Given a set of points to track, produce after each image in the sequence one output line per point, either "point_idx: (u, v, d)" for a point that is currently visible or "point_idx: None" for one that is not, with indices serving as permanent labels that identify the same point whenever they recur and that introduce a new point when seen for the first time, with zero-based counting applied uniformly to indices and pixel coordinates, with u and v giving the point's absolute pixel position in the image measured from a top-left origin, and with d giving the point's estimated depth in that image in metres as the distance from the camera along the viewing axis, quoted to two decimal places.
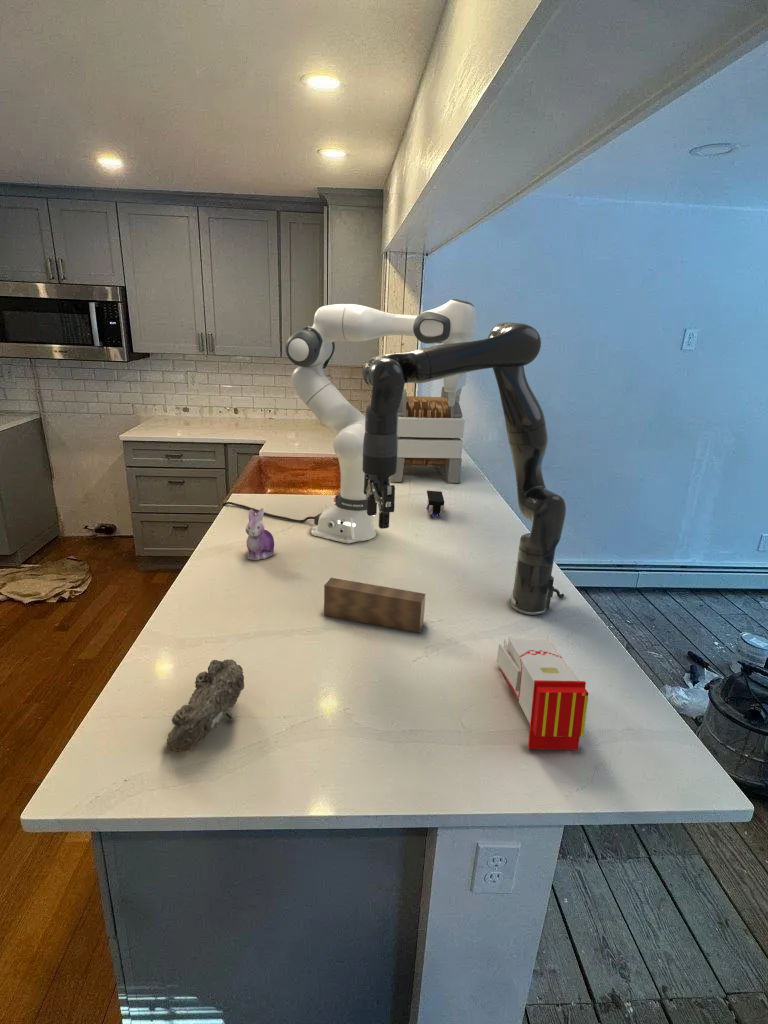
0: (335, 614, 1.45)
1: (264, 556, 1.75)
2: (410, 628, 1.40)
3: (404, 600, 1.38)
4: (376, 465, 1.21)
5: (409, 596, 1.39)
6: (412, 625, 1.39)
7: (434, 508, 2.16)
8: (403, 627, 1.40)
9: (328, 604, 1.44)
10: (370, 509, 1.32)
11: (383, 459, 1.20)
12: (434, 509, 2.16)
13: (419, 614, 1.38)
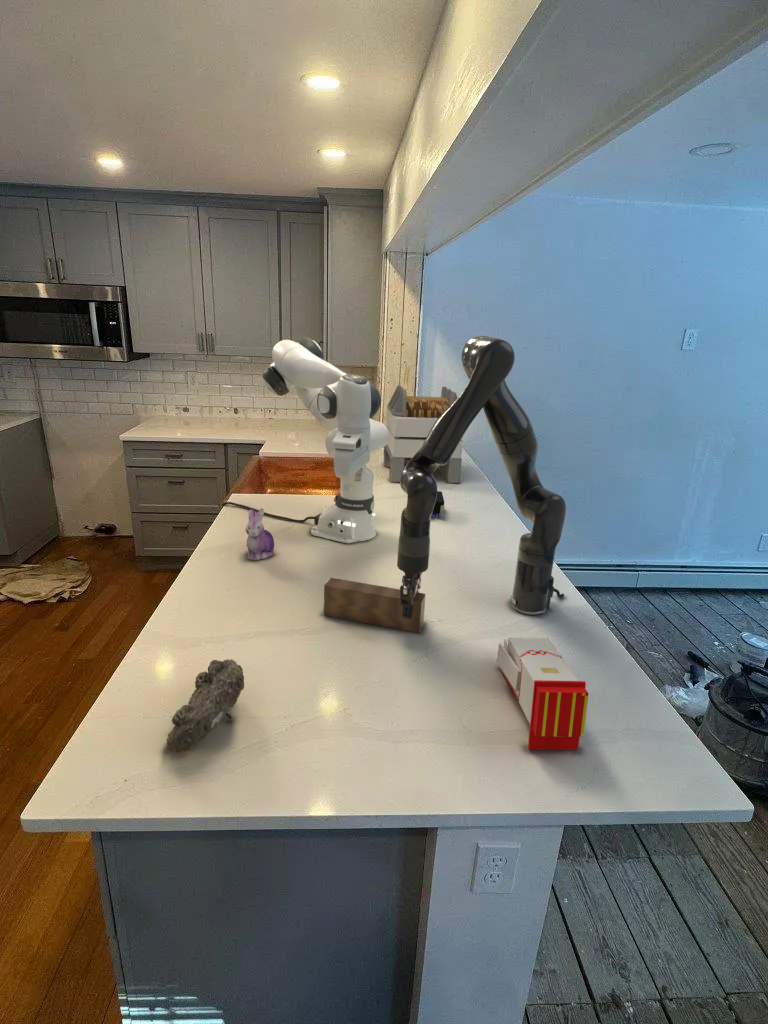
0: (335, 614, 1.45)
1: (264, 556, 1.75)
2: (410, 628, 1.40)
3: None
4: (402, 561, 1.33)
5: None
6: (412, 625, 1.39)
7: (434, 508, 2.16)
8: (403, 627, 1.40)
9: (328, 604, 1.44)
10: None
11: (407, 558, 1.32)
12: (434, 509, 2.16)
13: (419, 614, 1.38)
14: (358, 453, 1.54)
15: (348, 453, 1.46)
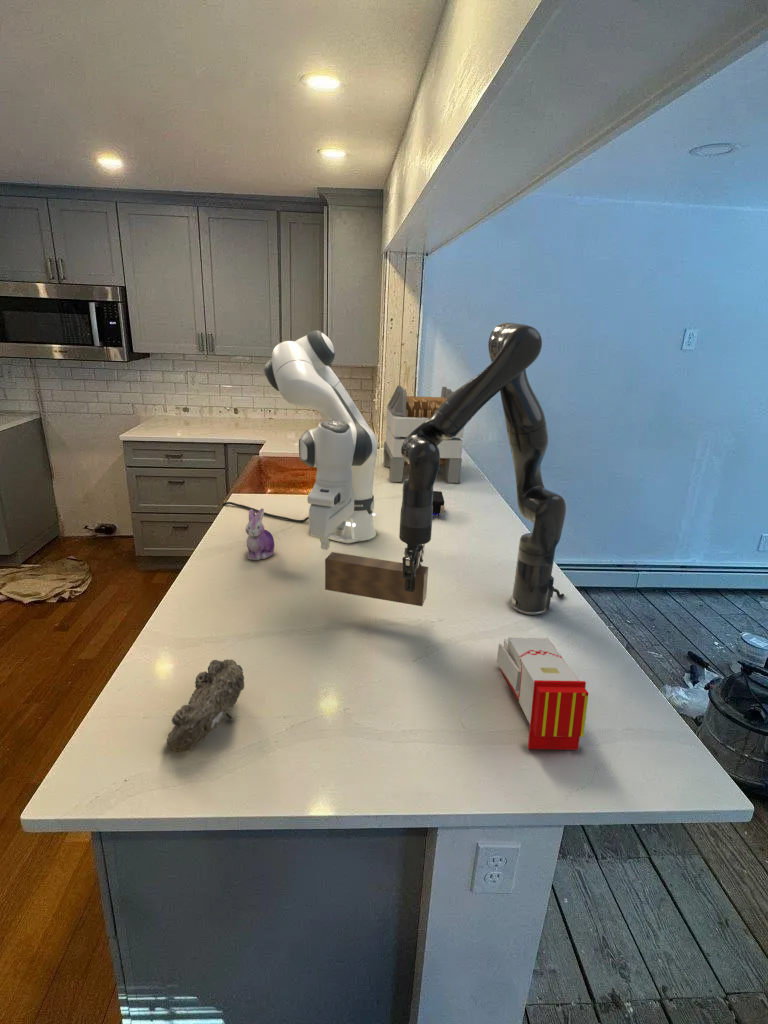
0: (336, 589, 1.42)
1: (264, 556, 1.75)
2: (412, 602, 1.37)
3: None
4: (404, 533, 1.31)
5: None
6: (415, 598, 1.37)
7: (434, 508, 2.16)
8: (406, 601, 1.38)
9: (329, 579, 1.42)
10: None
11: (410, 528, 1.30)
12: (434, 509, 2.16)
13: (422, 587, 1.35)
14: (339, 507, 1.38)
15: (325, 511, 1.29)
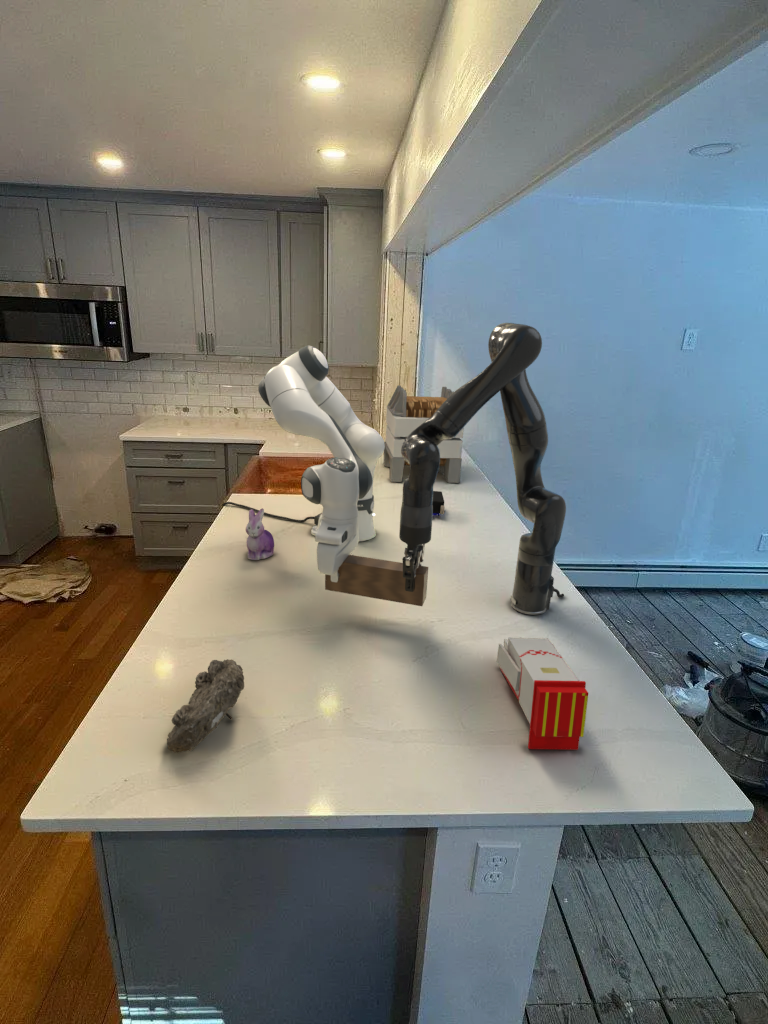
0: (336, 589, 1.42)
1: (264, 556, 1.75)
2: (412, 602, 1.37)
3: None
4: (404, 533, 1.31)
5: None
6: (415, 598, 1.37)
7: (434, 508, 2.16)
8: (406, 601, 1.38)
9: (329, 579, 1.42)
10: None
11: (410, 528, 1.30)
12: (434, 509, 2.16)
13: (422, 587, 1.35)
14: (345, 543, 1.39)
15: (333, 549, 1.31)
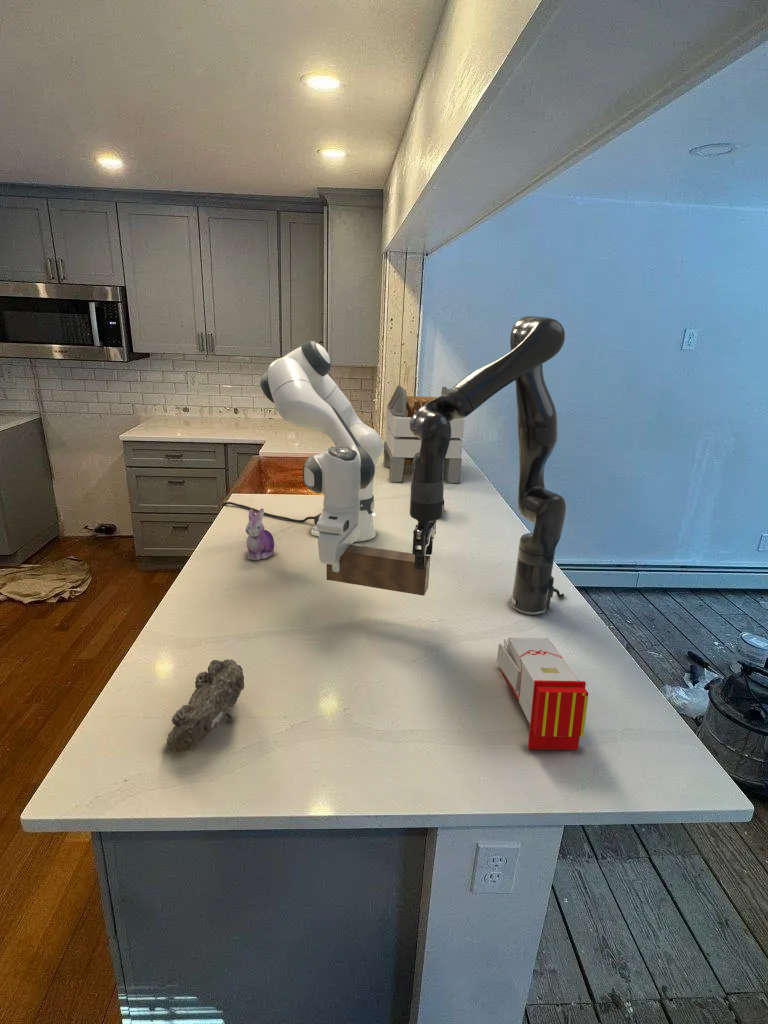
0: (337, 579, 1.41)
1: (264, 556, 1.75)
2: (414, 591, 1.36)
3: (408, 562, 1.34)
4: (415, 509, 1.28)
5: (413, 558, 1.36)
6: (417, 588, 1.36)
7: None
8: (408, 590, 1.37)
9: (331, 569, 1.41)
10: (425, 548, 1.39)
11: (420, 504, 1.27)
12: None
13: (424, 576, 1.34)
14: (346, 532, 1.39)
15: (334, 538, 1.30)
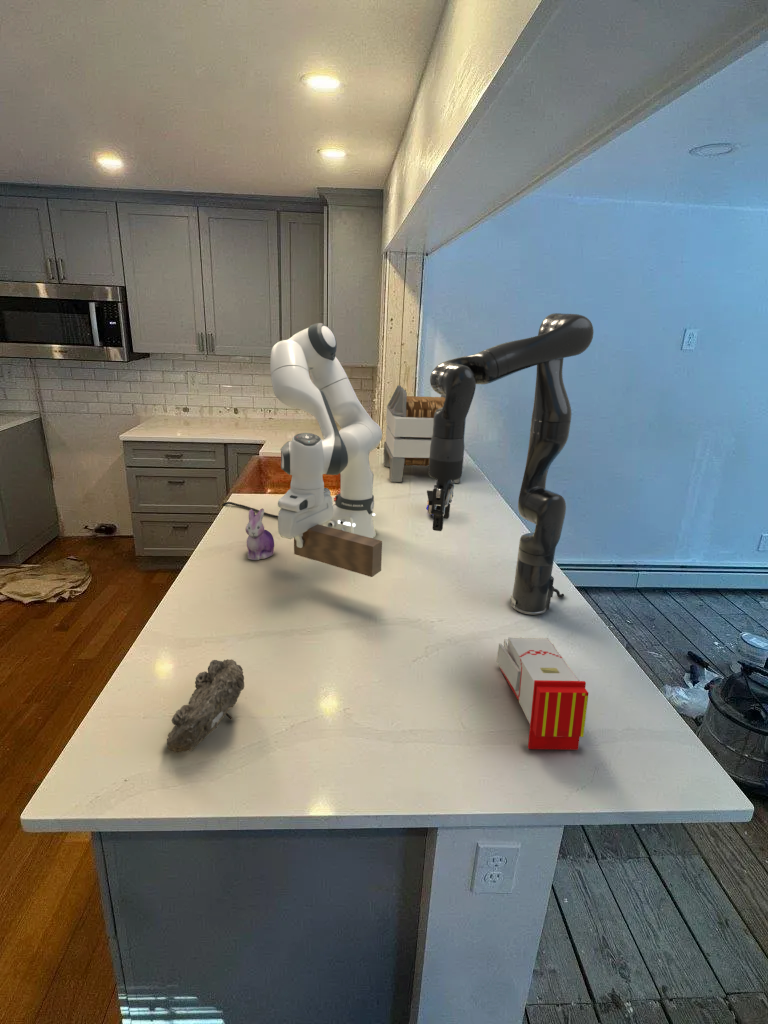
0: (302, 554, 1.55)
1: (264, 556, 1.75)
2: (364, 572, 1.46)
3: (358, 543, 1.44)
4: (434, 467, 1.24)
5: (364, 541, 1.45)
6: (366, 569, 1.45)
7: None
8: (358, 570, 1.46)
9: None
10: None
11: (440, 462, 1.23)
12: None
13: (371, 558, 1.43)
14: (311, 512, 1.52)
15: (290, 515, 1.44)
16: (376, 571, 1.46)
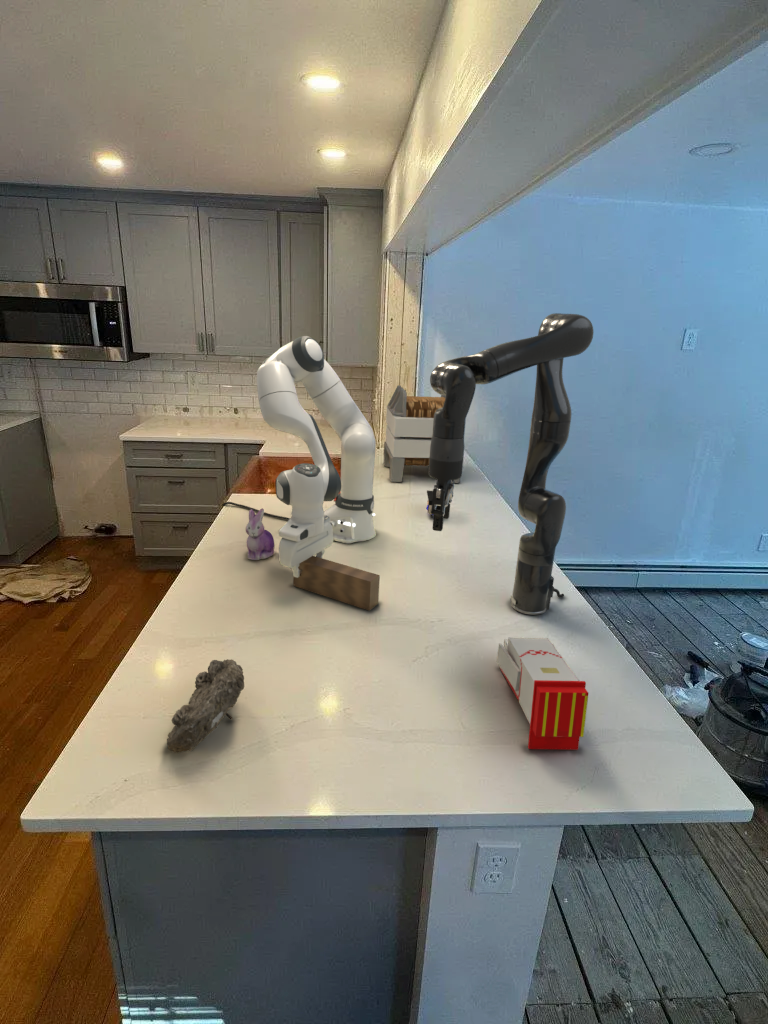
0: (301, 586, 1.58)
1: (264, 556, 1.75)
2: (361, 606, 1.49)
3: (356, 578, 1.48)
4: (434, 467, 1.24)
5: (362, 575, 1.49)
6: (364, 602, 1.49)
7: None
8: (356, 604, 1.50)
9: None
10: None
11: (440, 462, 1.23)
12: None
13: (369, 593, 1.47)
14: (311, 540, 1.54)
15: (291, 545, 1.47)
16: (373, 604, 1.50)
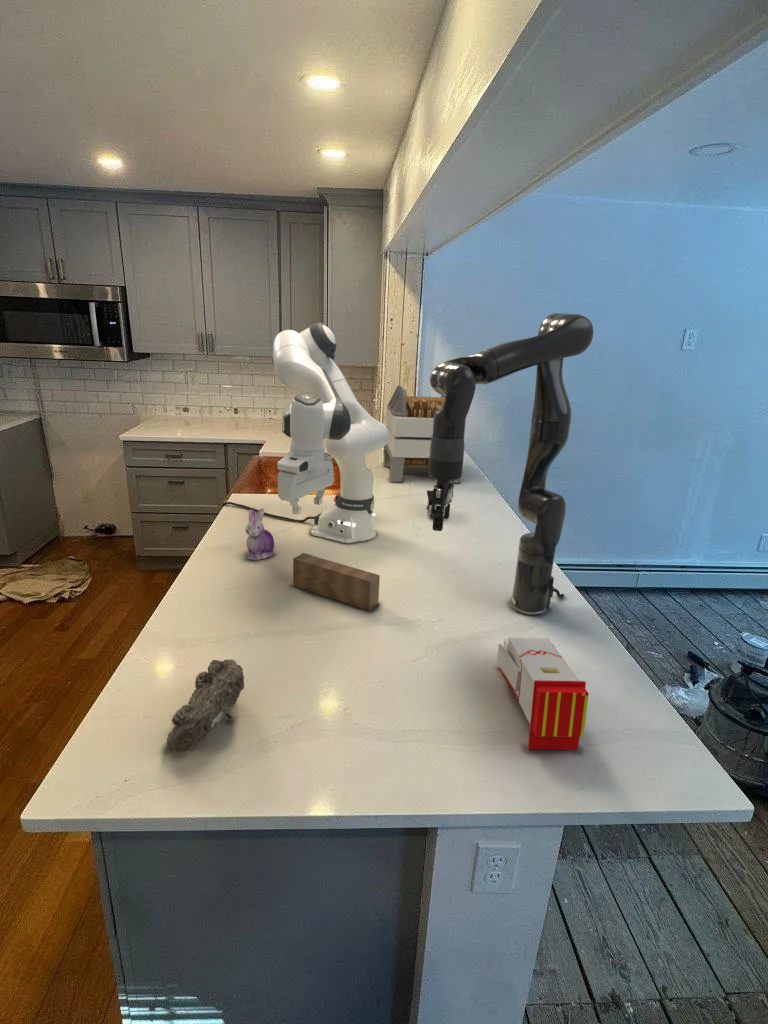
0: (301, 586, 1.58)
1: (264, 556, 1.75)
2: (361, 606, 1.49)
3: (356, 578, 1.48)
4: (434, 467, 1.24)
5: (362, 575, 1.49)
6: (364, 602, 1.49)
7: None
8: (356, 604, 1.50)
9: (296, 576, 1.58)
10: None
11: (440, 462, 1.23)
12: None
13: (369, 593, 1.47)
14: (311, 476, 1.48)
15: (290, 476, 1.40)
16: (373, 604, 1.50)
